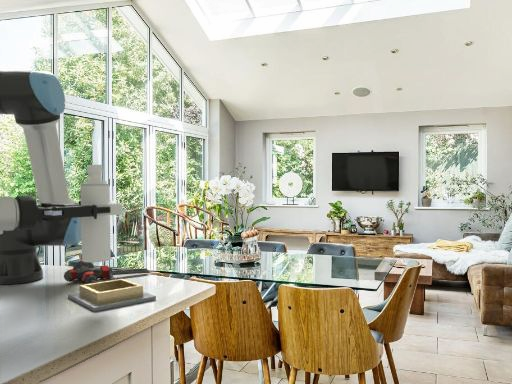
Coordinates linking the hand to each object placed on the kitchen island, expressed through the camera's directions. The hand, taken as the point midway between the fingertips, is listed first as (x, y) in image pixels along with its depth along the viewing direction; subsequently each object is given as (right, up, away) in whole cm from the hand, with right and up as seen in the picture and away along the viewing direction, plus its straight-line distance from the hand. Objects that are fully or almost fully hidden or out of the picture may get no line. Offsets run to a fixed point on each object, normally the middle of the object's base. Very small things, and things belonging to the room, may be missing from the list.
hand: (115, 208), depth 116 cm
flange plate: (-2, -24, +3) cm, 24 cm away
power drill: (-10, -24, +27) cm, 37 cm away
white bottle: (-4, -13, -3) cm, 14 cm away
